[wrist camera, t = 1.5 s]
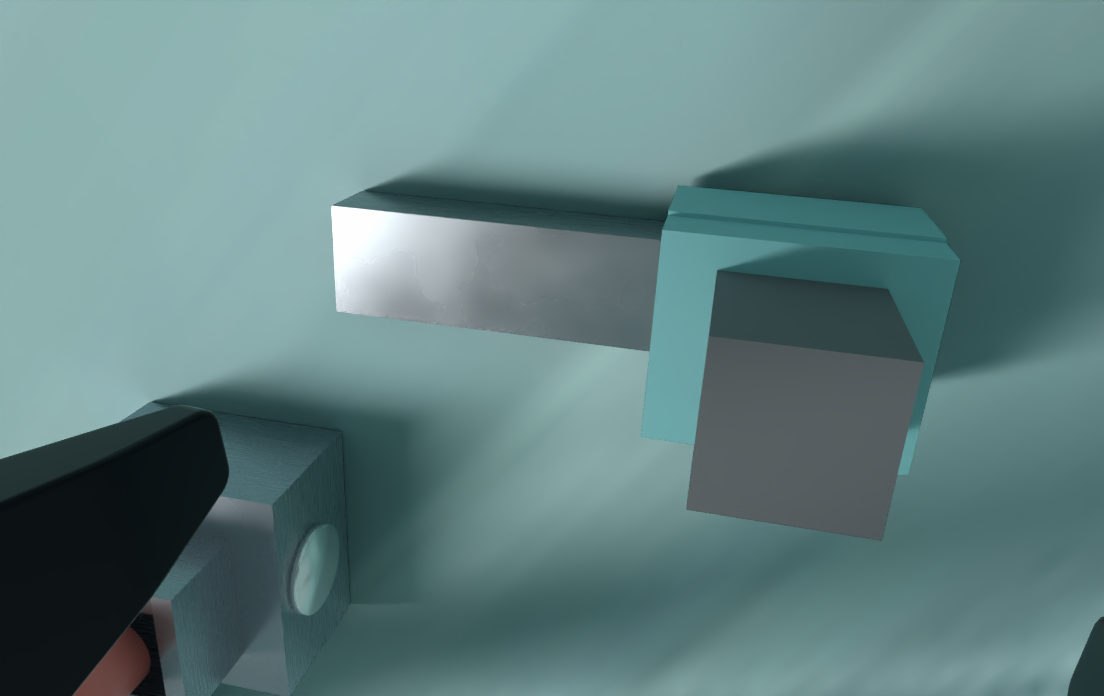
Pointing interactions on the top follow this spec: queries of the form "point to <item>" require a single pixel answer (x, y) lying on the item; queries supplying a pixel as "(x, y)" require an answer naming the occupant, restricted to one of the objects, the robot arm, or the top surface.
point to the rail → (497, 267)
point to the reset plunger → (119, 668)
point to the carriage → (795, 352)
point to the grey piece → (254, 567)
